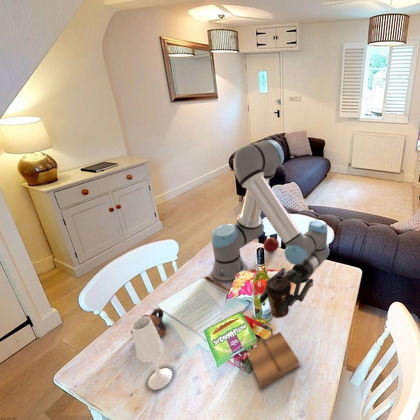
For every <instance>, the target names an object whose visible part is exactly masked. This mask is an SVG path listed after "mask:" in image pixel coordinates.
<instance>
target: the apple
mask: <svg viewBox="0 0 420 420" xmlns="http://www.w3.org/2000/svg"><path fill="white" fill-rule="evenodd" d="M279 246H280V243H279V240H278V239H277V238H275V237H268V238H266V239H265V241H264V242H263V249H264V250H265V251H266V252H267V253H274V252H276V251H277V250H278V249H279Z"/></svg>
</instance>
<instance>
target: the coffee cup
mask: <svg viewBox="0 0 420 420" xmlns="http://www.w3.org/2000/svg"><path fill="white" fill-rule="evenodd" d="M272 277H273V276H272ZM269 279H270V278H269ZM265 289H266V292H267V295H268V298H267V301H268V303H269V308H270V314H271V316H272V317H273V318H275V319H282V318H284V317H286V316H287V315H288V314H289V312H290V308H289V307H290V306H288V307H287V308H286V310H285V311H284V312H283V313H280V306H281V305H282V304H283V303H284V301H285V300H286V299H287V298H288V297H289V296H290V295H291V291H292V283H291V282H289V280H288V279H287V278H285V277H284V276H283V277H282V276H281V277H280V276H275V277H273V278H272V279H270V280H269V281H268V283H267V282H266V284H265Z"/></svg>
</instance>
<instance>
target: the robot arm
mask: <svg viewBox="0 0 420 420" xmlns="http://www.w3.org/2000/svg"><path fill="white" fill-rule="evenodd" d="M284 160H285V154H284V150H283V149H282V146H281V145H280V144H279V143H278V142H277V141H275V140H273V139H267V140H266V139H264V140H262V141H258V142H253V143H249V144H244V145H242V146H240V147H239V148H238V149H237V150H236V152H235V153H234V156H233V162H232V164H233V171H234V175H235V177H236V179H237V182H238V183H239V184H240V186H241V187H242V188H244V189H246V190H245V192H246V193H245V195H244V201H243V204H242V205H243V206H242V210H241V212H239V213H238V215H237V219H236V222H235V223H225V224H220V225H219V226H216V227H215V228H214V229H213V231H212V232H211V244H212V250H213V257H214V261H213V267H212V275H213V278H214V279H215V280H217V281H221V282H233V281H235V280H234V278H235V276H236V274H237V273H239V272H241V271H244V270H245V271H246V264H245V261H244V260H243V257H242V256H241V249H242V248H243V247H245V246H246V245H248V244H250V243H251V242H253V241H254V240H257V239H258V238H259V237H260V236H261V235H262V234H263V233H264V230H265V225H264V224H263V223H264V221H263V220H262V217H261V213H263V215H264V216H265V217H266V220H268V222H269V224H270V225H271V226H272V228H273V229H274V231H275V233H276V234H277V236H278V237H279V238H280V240H281V241H282V242H283V244H284V246H285V249H284V253H283V254H284V257H285V259H286V261H288V263H290V264H292V265H293V266H292V268H291V269H289V270H288V269H286V267H282V268H281V269H280V271H278V272H277V273H276V274H274V275H272V276H271V277H269V278H268V279H267V280H266V284H267V283H268V281H269V280H270V279H272V278H273V277H275V276H280V277H281V276H282V277H285V278H287V279H288V280H289V282H290V283H291V284H294V285H295V287H294V291H293V294H292V293H290V296H289V297H288V298H287V299H286V300H285V301H284V303H283V304H282V305H281V306H280V313H283V312H284V311H285V310H286V308H287V307H288V306H289V307H292V306H293V305H294V304H295V302H297V301H299V302H300V303H301V302H303V301H304V300H305V298H306V296H307V294H308V292H309V291H310V288H312V287H313V286H314V279H313V278H312V276H313V274H314V273H315V272H316V271H317V270H318V268H319V267H320V266H321V265H322V264H323V262H325V261H326V260H327V258H328V256H329V255H330V250H331V249H330V248H329V246H328V244H327V242H328V224H327V223H326V222H325V221H323V220H322V219H321V220H320V219H313V220H311V221H310V222H309V223H308V230H307V231H305V233H302V232H301V230H300V228H299V227H298V226H297V224H296V223H295V222H294V220H293V219H292V217H291V216H290V214H289V213H288V211H287V210H286V208H285V207H284V205H283V204H282V202H281V201H280V199H279V198H278V196H277V195H276V193H275V192H274V190H273V189H272V187H271V186H270V179H272V178H274V176H275V175H276V171H277V168H278V167H280V166H282V164H283V163H284ZM302 284H304V286H303V288H302V289H301V285H302ZM300 289H301V290H300ZM266 300H268V295H267V292H266V288H264V289H263V293H262V294H261V295H260V296H259V303H260V304H263V303H264V302H266Z"/></svg>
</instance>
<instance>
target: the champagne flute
mask: <svg viewBox="0 0 420 420" xmlns="http://www.w3.org/2000/svg"><path fill="white" fill-rule="evenodd" d="M140 317H141V318H140ZM140 317H138V318H136V319H135V320H134V321H133V322H132V323H131V327H130V328H131V329H132V333H133V335H132V339H133V342H134V347H135V352H136V357H137V359H138V360H139V362H141V363H142V362H144V363H152V366H153V368H154V371H155V372H154V373H153V374H151V376H150V377H149V379H148V383H147V385H148V388H150V389H151V390H153V391H154V390H155V391H156V390H161V389H162V388H164V387H166V386H167V385H168V384H169V383H170V382H171V380H172V378H173V372H172V370H171V369H169V368H167V367H166V368H165V367H164V368H160V366H159V363H158V360H157V359H159V357H160V356H161V355H162V353H163V351H164V343H163V340H162V337H161V336H160V335H159V334H158V332H159V331H158V330H157V327H156V328H155V326H154V324H153V322H152V320H151V318H150V317H147V316H145V317H142V316H140Z"/></svg>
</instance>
